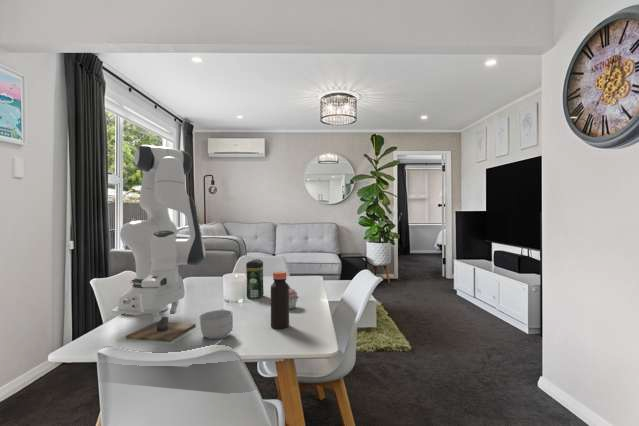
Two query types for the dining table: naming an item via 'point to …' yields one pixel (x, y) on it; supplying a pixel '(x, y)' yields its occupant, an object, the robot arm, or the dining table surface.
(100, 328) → the dining table surface
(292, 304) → the cupcake
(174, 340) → the mat
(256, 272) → the coffee jar
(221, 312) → the teacup
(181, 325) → the lid
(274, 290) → the bottle
